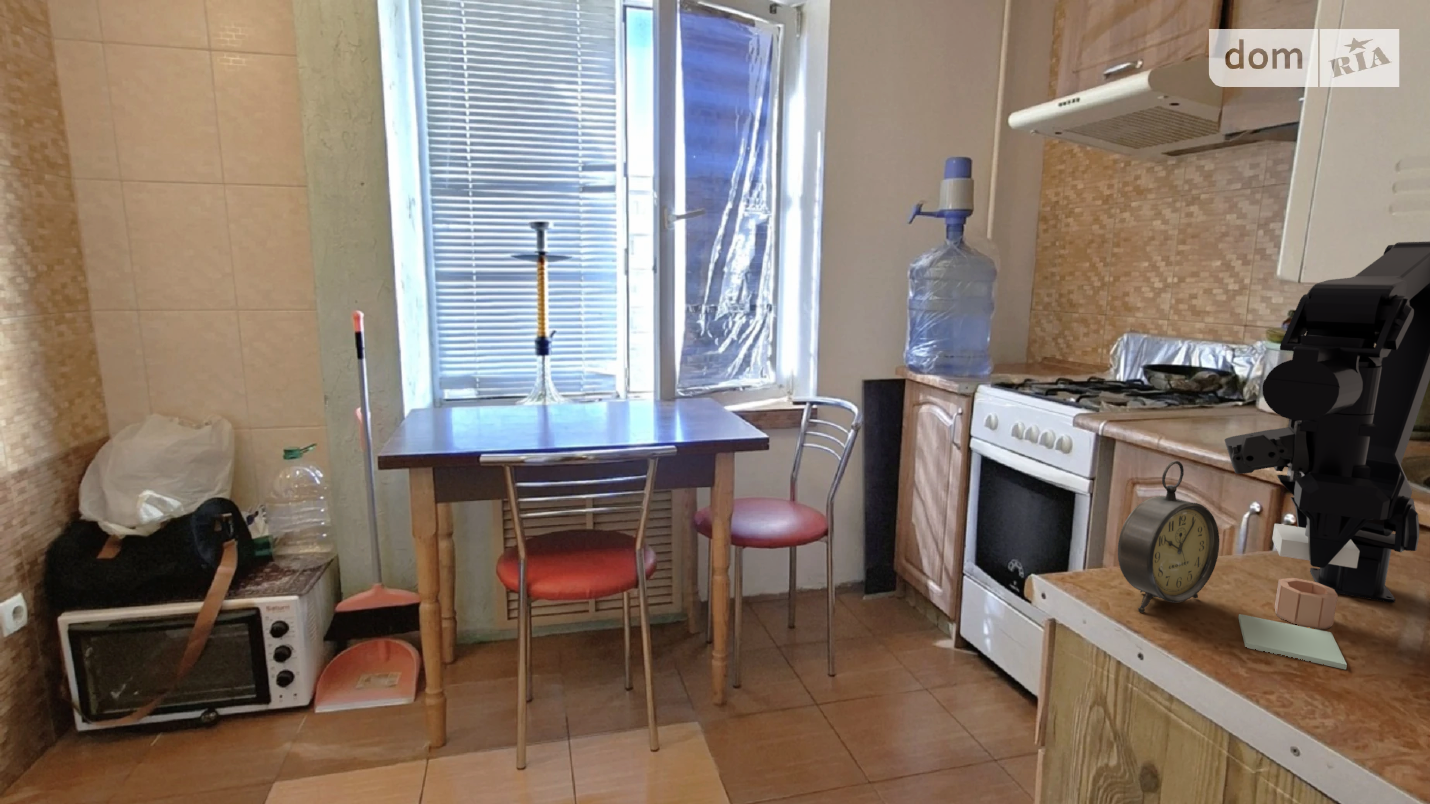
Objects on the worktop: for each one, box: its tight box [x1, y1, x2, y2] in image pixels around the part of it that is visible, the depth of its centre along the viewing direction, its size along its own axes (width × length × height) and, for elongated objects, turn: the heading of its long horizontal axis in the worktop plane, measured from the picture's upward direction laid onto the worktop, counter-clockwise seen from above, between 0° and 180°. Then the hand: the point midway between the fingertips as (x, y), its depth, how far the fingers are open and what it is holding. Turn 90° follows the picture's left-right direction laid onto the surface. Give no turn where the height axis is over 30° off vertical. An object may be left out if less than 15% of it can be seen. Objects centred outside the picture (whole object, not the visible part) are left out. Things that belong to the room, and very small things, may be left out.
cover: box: [1272, 523, 1360, 568], centre depth 73 cm, size 6×6×3 cm
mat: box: [1237, 613, 1348, 670], centre depth 70 cm, size 7×8×1 cm
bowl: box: [1274, 577, 1339, 630], centre depth 74 cm, size 5×5×4 cm
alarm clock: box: [1117, 460, 1220, 613], centre depth 77 cm, size 11×5×16 cm, turn 112°
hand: (1311, 557), depth 73 cm, fingers closed on cover, 5 cm apart
